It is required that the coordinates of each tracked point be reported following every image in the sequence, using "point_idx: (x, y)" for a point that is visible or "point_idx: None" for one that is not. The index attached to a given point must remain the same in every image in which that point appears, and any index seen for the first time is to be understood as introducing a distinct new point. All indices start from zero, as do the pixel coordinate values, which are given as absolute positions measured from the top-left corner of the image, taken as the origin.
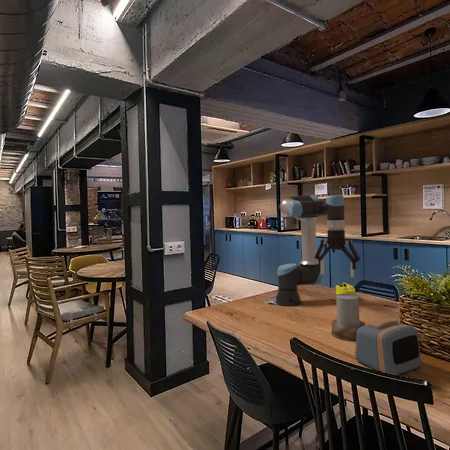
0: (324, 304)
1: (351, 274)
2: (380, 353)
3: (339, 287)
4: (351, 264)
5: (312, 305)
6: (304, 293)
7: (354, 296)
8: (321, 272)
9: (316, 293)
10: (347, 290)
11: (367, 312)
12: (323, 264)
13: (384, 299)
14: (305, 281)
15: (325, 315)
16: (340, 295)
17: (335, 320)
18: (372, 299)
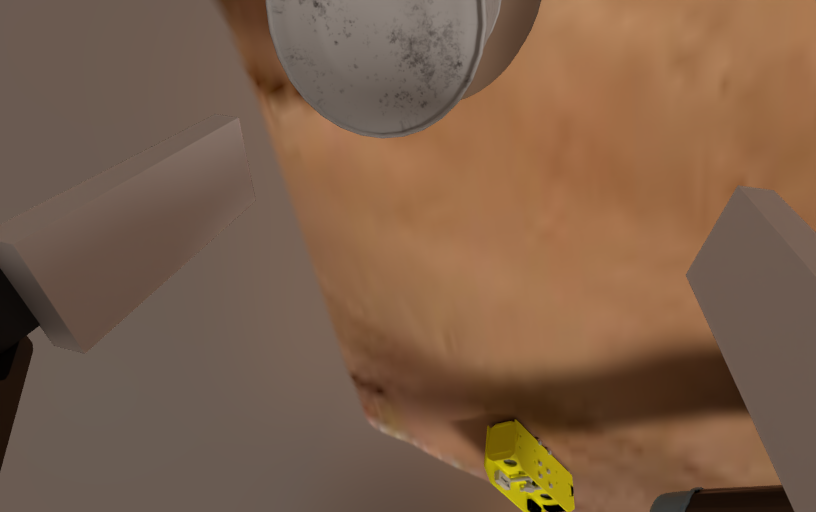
0: (616, 379)
1: (197, 129)
2: None
3: (555, 494)
4: (33, 218)
5: (681, 362)
6: (721, 487)
7: (319, 62)
8: (775, 208)
9: (659, 485)
10: (519, 473)
11: (420, 319)
12: (781, 389)
13: (396, 435)
14: (772, 500)
15: (603, 246)
16: (445, 44)
17: (519, 21)
18: (432, 434)
